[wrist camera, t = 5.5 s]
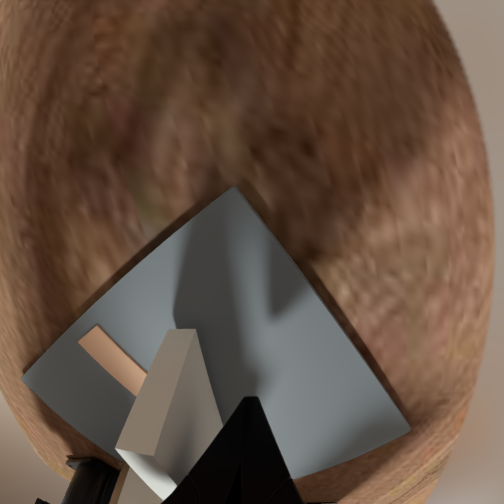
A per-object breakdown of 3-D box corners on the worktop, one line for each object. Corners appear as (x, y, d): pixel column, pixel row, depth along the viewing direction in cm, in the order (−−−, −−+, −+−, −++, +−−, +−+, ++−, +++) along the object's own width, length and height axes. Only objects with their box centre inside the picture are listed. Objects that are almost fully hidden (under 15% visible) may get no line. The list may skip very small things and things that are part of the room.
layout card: (189, 494, 17) (188, 499, 17) (23, 375, 13) (19, 379, 12) (410, 425, 13) (412, 431, 12) (234, 184, 8) (233, 186, 8)
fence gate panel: (227, 440, 12) (216, 528, 7) (207, 439, 12) (192, 525, 7) (195, 328, 9) (153, 455, 5) (168, 328, 9) (114, 448, 5)
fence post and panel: (138, 469, 15) (119, 532, 10) (119, 457, 15) (96, 521, 9) (246, 447, 13) (239, 542, 7) (224, 432, 12) (210, 535, 7)
